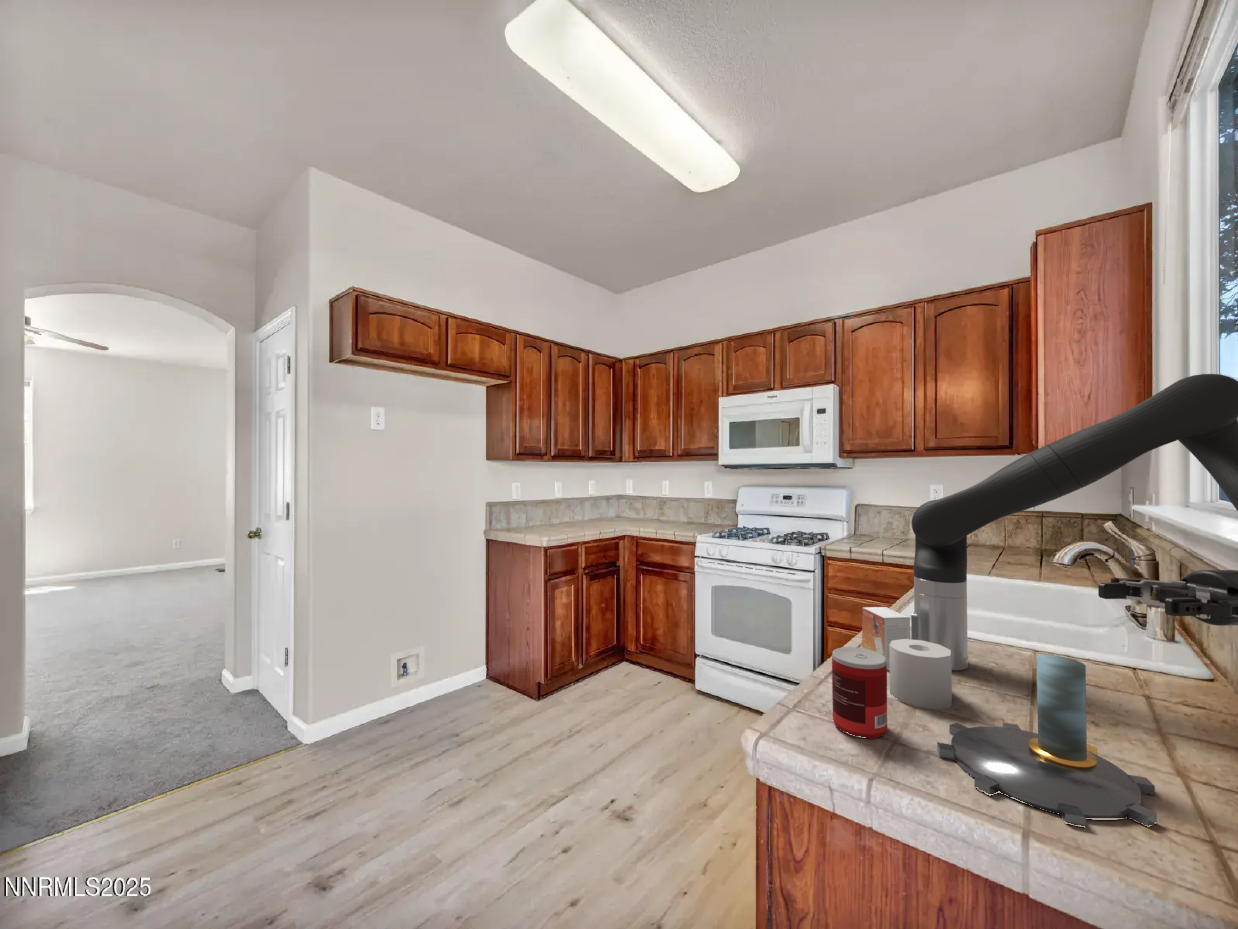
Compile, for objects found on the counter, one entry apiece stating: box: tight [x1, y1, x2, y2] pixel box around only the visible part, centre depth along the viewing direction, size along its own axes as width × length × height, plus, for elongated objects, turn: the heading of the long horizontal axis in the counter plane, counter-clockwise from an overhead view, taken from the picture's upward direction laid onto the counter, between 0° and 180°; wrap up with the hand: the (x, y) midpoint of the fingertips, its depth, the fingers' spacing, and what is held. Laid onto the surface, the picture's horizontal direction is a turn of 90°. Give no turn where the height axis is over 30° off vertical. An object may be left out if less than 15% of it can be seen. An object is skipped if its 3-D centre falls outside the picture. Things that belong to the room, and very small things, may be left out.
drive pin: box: [1036, 654, 1088, 761], centre depth 70 cm, size 5×5×12 cm
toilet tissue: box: [889, 638, 953, 711], centre depth 91 cm, size 9×13×9 cm
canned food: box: [831, 646, 888, 739], centre depth 79 cm, size 8×8×11 cm
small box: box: [861, 606, 911, 671], centre depth 106 cm, size 8×6×10 cm
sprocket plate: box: [936, 722, 1158, 827], centre depth 67 cm, size 21×22×2 cm
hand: (1132, 598), depth 71 cm, fingers open, 8 cm apart
